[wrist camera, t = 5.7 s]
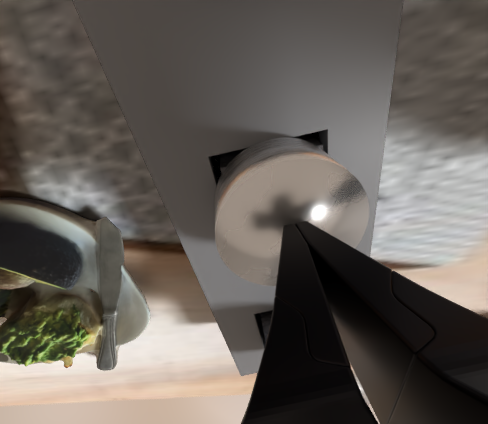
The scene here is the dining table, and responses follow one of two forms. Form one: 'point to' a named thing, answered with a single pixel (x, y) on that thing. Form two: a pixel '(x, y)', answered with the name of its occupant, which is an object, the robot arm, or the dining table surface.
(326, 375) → the robot arm
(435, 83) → the dining table surface
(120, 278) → the salad plate
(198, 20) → the console
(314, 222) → the plunger middle
